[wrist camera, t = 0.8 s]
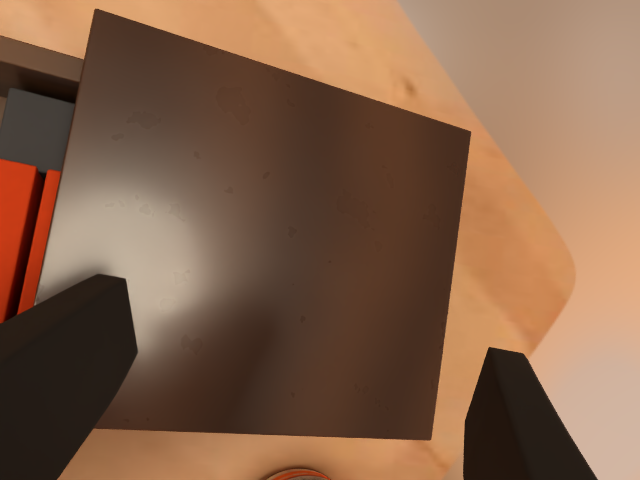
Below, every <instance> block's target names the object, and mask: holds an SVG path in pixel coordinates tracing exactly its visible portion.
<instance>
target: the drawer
mask: <svg viewBox="0 0 640 480" xmlns="http://www.w3.org/2000/svg"><path fill="white" fill-rule="evenodd" d="M83 62H84V60H83V59H80V58H77V57H73V56H70V55H66V54H63V53H59V52H56V51H52V50H49V49H46V48H42V47H39V46H35V45H32V44H28V43H25V42H21V41H18V40H15V39H11V38H8V37H4V36H1V35H0V127H1V123H2V118H3V114H4V109H5V105H6V100H7V96H8V91H9V89H10V88H16V89H20V90H24V91H27V92H31V93H35V94H39V95H43V96H47V97H51V98H55V99H58V100H62V101H66V102H70V103H74V104H75V101H76V96H77V91H78V87H79V82H80V77H81V72H82V67H83ZM16 315H17V314H16ZM16 315H15V316H16Z"/></svg>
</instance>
